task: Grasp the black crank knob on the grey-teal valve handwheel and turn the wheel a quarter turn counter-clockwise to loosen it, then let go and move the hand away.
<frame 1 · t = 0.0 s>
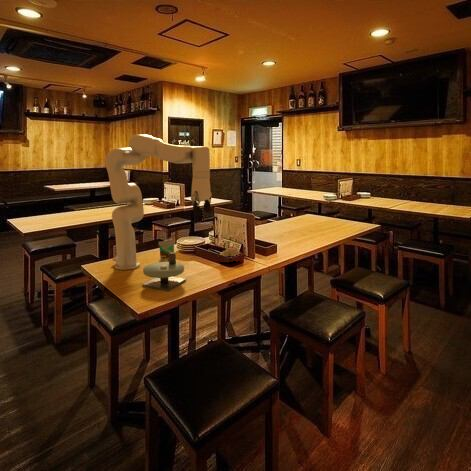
hand: (202, 213, 165), 31 cm above the table, tool pointing down, fingers open, 9 cm apart
decorative item: (230, 261, 199), on the table
handwheel: (163, 264, 164), point 9 cm above the table, hinge at 0.0°
food container: (169, 256, 208), on the table
wheel stand: (164, 283, 166), on the table
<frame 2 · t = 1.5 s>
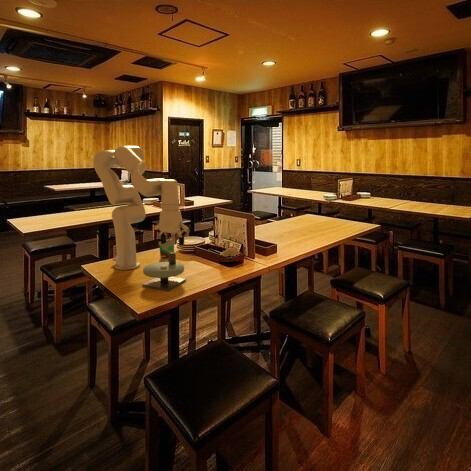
hand: (172, 244, 168), 17 cm above the table, tool pointing down, fingers open, 9 cm apart
nothing on the table moved.
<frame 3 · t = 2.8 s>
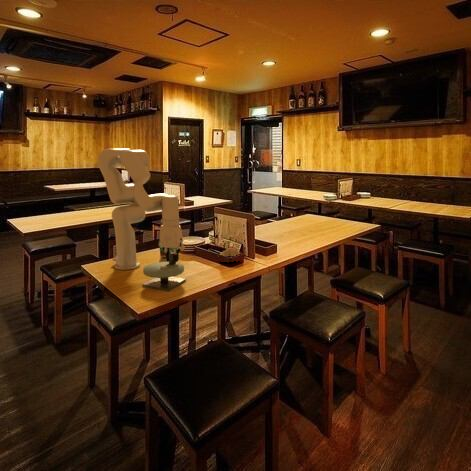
hand: (172, 261, 170), 9 cm above the table, tool pointing down, fingers closed on handwheel, 3 cm apart
handwheel: (163, 264, 164), point 9 cm above the table, hinge at 0.0°, touching gripper
everything else where it was.
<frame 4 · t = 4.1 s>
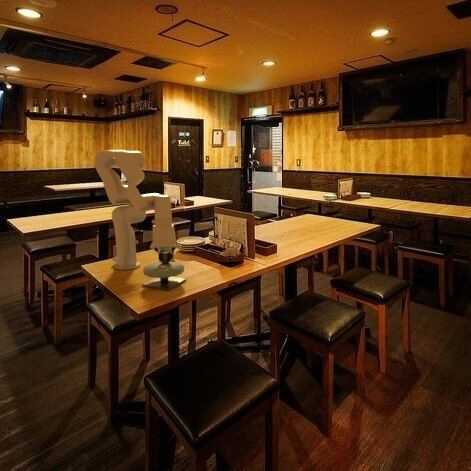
hand: (165, 260, 171), 9 cm above the table, tool pointing down, fingers closed on handwheel, 3 cm apart
handwheel: (163, 264, 164), point 9 cm above the table, hinge at 28.1°, touching gripper
everything else where it was.
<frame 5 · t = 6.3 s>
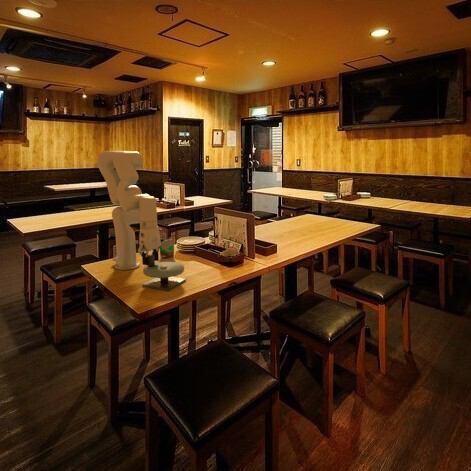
hand: (150, 262, 167), 9 cm above the table, tool pointing down, fingers open, 6 cm apart
handwheel: (163, 264, 164), point 9 cm above the table, hinge at 88.2°
everything else where it was.
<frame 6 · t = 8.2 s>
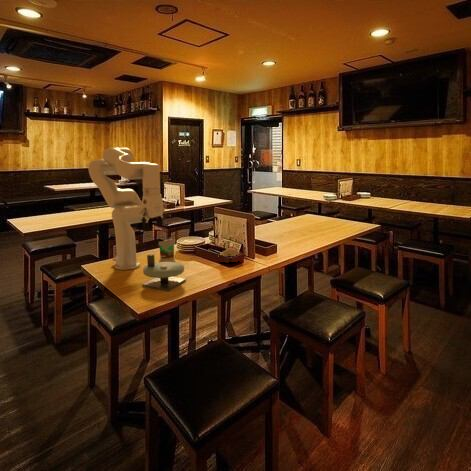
hand: (152, 228, 168), 24 cm above the table, tool pointing down, fingers open, 9 cm apart
nothing on the table moved.
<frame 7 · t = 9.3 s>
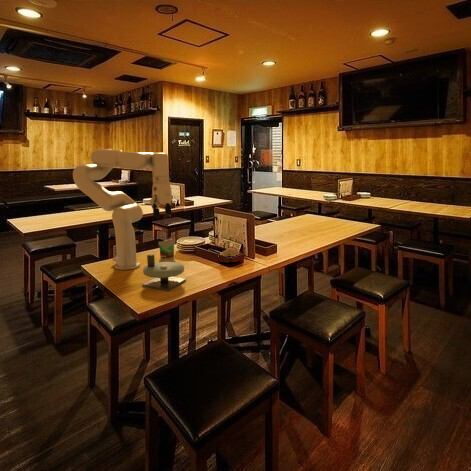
hand: (162, 215, 177), 28 cm above the table, tool pointing down, fingers open, 9 cm apart
nothing on the table moved.
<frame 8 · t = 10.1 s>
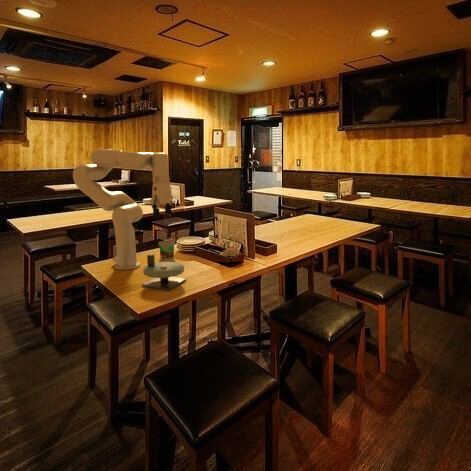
hand: (162, 215, 177), 28 cm above the table, tool pointing down, fingers open, 9 cm apart
nothing on the table moved.
at the end: handwheel at +88° (first picture: +0°); the gripper is holding nothing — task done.
